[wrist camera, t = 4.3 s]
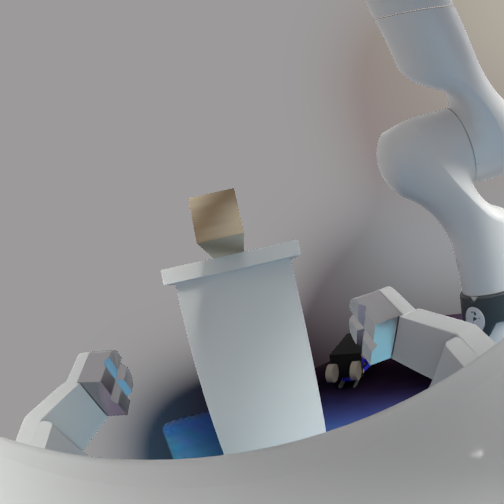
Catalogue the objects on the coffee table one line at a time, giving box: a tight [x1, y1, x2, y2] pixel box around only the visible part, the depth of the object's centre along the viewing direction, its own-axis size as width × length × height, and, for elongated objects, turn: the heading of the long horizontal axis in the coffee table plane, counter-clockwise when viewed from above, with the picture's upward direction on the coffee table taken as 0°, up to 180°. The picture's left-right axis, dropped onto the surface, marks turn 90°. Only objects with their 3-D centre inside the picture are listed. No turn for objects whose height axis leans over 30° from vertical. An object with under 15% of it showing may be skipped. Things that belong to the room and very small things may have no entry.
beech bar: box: [189, 189, 244, 258], centre depth 30 cm, size 3×26×3 cm, turn 2°
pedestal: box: [161, 240, 326, 455], centre depth 36 cm, size 14×20×26 cm
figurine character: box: [325, 333, 371, 389], centre depth 49 cm, size 7×8×15 cm
